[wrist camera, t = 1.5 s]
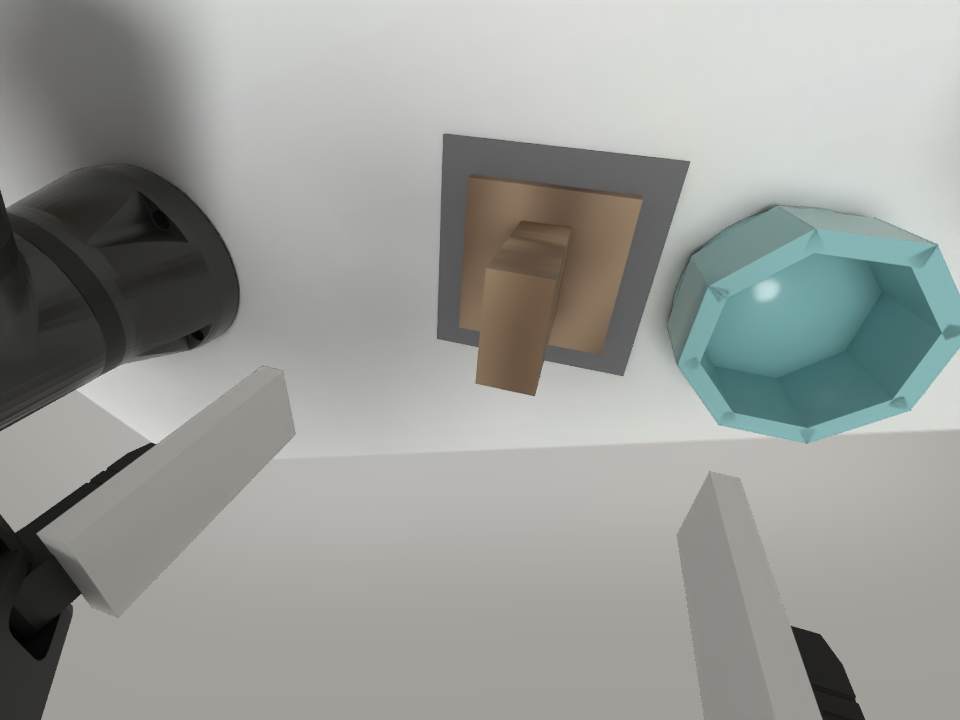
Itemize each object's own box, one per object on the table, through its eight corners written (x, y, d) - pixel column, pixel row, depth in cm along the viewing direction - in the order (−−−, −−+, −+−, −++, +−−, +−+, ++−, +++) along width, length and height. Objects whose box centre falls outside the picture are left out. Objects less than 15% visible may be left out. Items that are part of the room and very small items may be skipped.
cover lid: (463, 320, 31) (410, 399, 23) (473, 174, 26) (408, 208, 18) (601, 346, 30) (598, 443, 21) (641, 196, 24) (659, 245, 16)
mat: (438, 337, 33) (437, 338, 33) (444, 133, 26) (443, 134, 25) (623, 373, 31) (623, 376, 30) (689, 161, 23) (690, 162, 23)
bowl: (650, 360, 30) (658, 412, 25) (708, 193, 24) (734, 217, 19) (825, 394, 28) (873, 457, 23) (935, 221, 22) (1031, 257, 17)
